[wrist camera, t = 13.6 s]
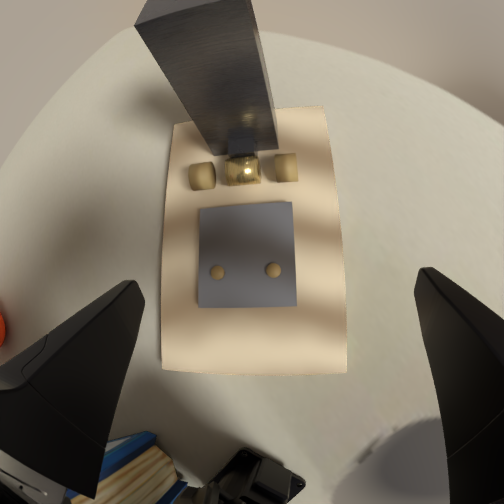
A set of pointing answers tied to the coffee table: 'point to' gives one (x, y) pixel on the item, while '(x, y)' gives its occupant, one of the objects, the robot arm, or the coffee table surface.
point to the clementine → (2, 330)
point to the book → (134, 474)
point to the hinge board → (254, 258)
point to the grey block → (216, 76)
